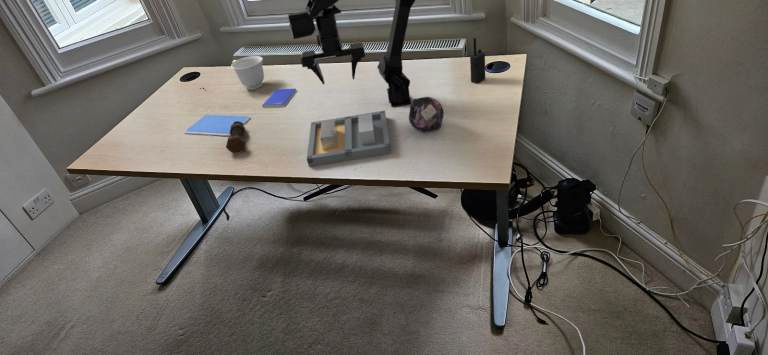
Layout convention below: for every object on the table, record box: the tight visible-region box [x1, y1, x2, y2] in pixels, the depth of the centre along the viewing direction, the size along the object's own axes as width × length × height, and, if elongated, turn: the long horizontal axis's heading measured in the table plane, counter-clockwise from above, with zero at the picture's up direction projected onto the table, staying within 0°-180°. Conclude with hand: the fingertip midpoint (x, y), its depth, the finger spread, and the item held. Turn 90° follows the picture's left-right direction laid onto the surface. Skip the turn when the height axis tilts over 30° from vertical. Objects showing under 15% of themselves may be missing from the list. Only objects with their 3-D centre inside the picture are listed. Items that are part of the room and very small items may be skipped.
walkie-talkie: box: [469, 37, 486, 84], centre depth 153 cm, size 5×3×15 cm
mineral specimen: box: [408, 96, 445, 133], centre depth 134 cm, size 10×10×10 cm
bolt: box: [225, 121, 246, 154], centre depth 146 cm, size 6×5×15 cm
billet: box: [320, 118, 338, 150], centre depth 136 cm, size 4×10×4 cm, turn 4°
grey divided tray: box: [306, 110, 392, 167], centre depth 136 cm, size 23×21×5 cm
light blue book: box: [183, 114, 251, 137], centre depth 158 cm, size 19×13×1 cm, turn 70°
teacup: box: [230, 55, 265, 90], centre depth 180 cm, size 12×15×10 cm
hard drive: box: [261, 88, 297, 108], centre depth 169 cm, size 2×8×12 cm
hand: (338, 81), depth 143 cm, fingers open, 9 cm apart
